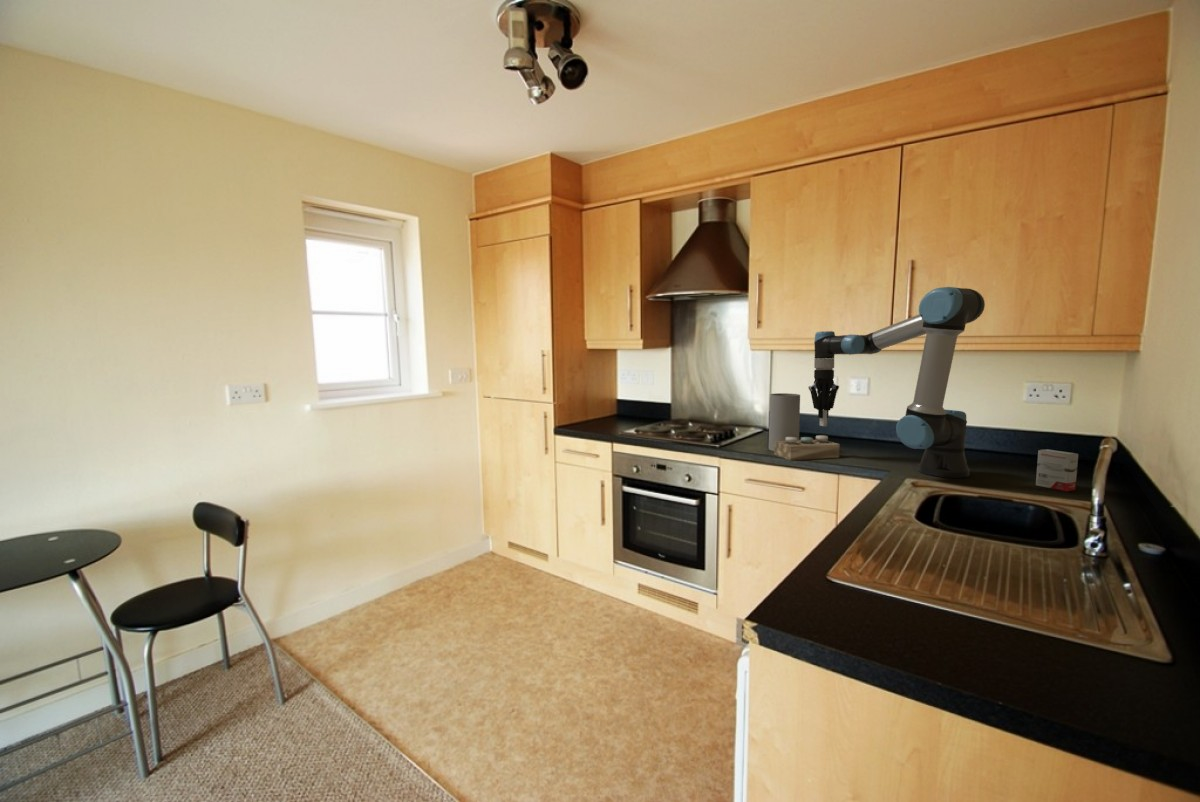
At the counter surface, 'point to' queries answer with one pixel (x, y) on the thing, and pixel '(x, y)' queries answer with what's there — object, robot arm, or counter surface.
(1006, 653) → the counter surface
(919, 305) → the robot arm
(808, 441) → the knob middle
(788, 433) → the cylinder vase
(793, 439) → the knob left
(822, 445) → the mount
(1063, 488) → the ink box
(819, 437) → the knob right
